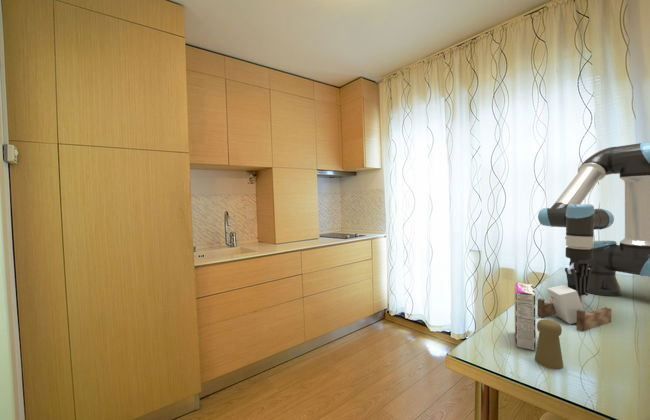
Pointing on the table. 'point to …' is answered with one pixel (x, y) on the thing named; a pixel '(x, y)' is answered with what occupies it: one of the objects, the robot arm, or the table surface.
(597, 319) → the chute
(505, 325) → the table surface
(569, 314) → the small box
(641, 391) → the table surface
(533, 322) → the candy bar box
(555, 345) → the cork
